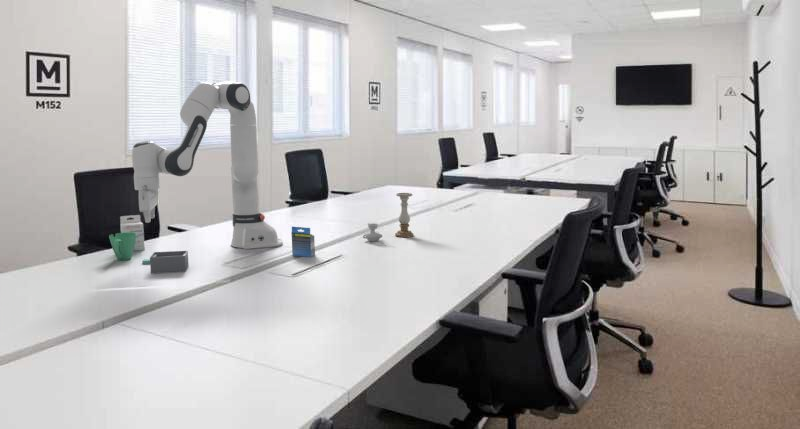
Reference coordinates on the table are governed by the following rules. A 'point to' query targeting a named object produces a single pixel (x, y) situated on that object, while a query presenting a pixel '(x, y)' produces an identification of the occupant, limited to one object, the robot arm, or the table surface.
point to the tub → (169, 262)
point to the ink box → (133, 230)
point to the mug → (123, 245)
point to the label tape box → (302, 242)
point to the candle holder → (404, 216)
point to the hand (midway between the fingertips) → (150, 220)
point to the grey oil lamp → (372, 233)
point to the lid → (146, 261)
